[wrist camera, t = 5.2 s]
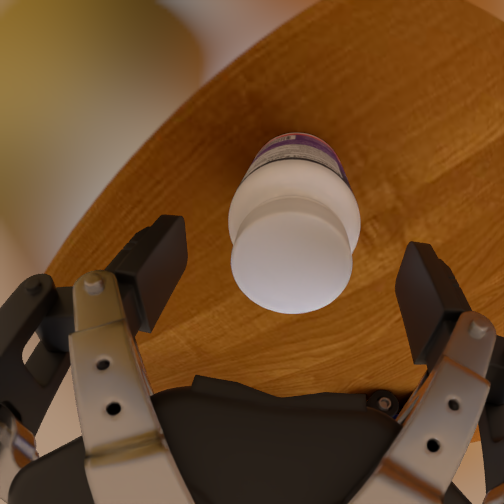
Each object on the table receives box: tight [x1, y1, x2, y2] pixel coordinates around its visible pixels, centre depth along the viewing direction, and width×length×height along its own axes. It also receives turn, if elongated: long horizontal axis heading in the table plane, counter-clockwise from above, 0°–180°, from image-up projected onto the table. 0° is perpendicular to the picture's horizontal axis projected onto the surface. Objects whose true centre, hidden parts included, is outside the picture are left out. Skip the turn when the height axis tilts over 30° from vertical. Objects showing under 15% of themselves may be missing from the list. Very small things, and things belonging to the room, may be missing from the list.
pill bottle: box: [228, 133, 360, 314], centre depth 14 cm, size 5×5×10 cm
